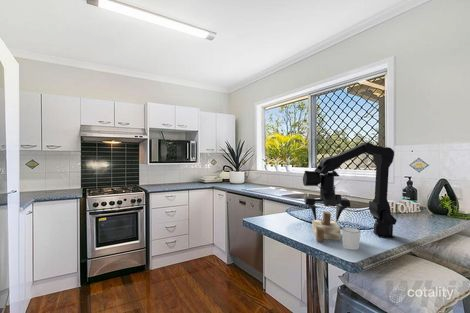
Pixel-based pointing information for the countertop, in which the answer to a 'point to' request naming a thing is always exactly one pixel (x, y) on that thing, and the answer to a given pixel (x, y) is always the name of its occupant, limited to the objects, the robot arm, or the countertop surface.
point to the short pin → (319, 235)
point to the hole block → (327, 229)
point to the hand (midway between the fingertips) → (326, 220)
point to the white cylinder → (351, 238)
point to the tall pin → (326, 218)
